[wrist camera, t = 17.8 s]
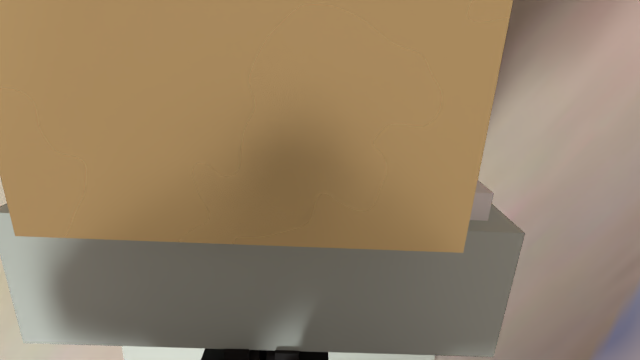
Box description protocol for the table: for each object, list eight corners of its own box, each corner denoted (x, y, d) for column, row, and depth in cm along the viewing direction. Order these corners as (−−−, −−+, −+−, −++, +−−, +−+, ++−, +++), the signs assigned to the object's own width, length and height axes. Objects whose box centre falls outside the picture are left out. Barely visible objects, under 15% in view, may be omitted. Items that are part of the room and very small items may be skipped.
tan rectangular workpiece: (380, 137, 12) (463, 253, 5) (186, 128, 12) (14, 236, 5) (394, -5, 10) (531, -93, 4) (175, -17, 10) (-76, -131, 4)
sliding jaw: (430, 246, 13) (493, 357, 8) (129, 235, 12) (23, 342, 8) (447, 142, 12) (532, 204, 7) (115, 127, 11) (-20, 181, 7)
